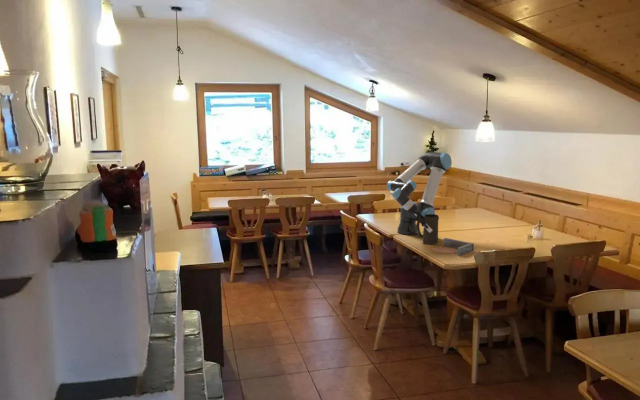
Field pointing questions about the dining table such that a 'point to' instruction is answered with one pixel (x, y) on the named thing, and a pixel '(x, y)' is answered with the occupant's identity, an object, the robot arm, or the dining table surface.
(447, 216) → the dining table surface
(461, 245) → the wall corner
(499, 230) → the dining table surface
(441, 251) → the terracotta mat
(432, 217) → the beer stein
